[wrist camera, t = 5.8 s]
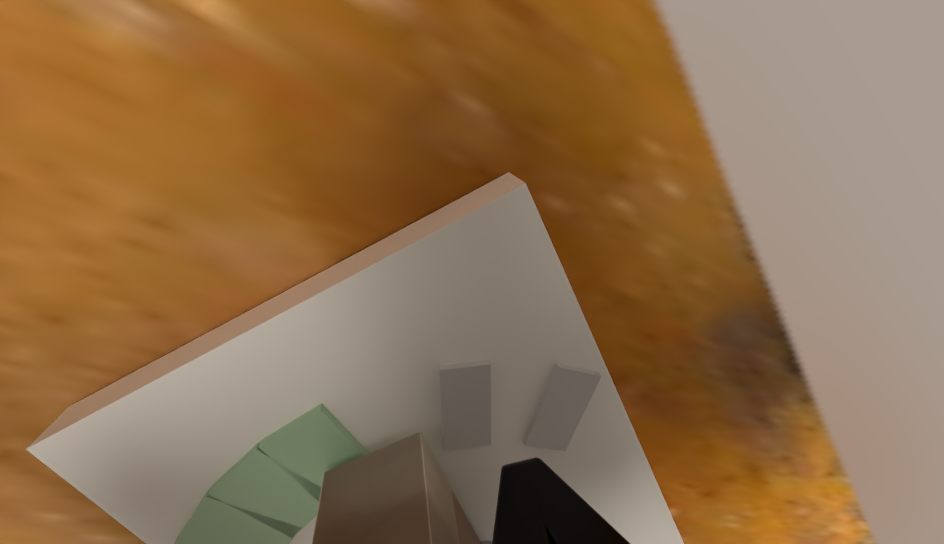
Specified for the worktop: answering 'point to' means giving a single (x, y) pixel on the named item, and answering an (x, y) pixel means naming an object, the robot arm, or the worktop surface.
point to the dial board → (370, 391)
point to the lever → (391, 500)
